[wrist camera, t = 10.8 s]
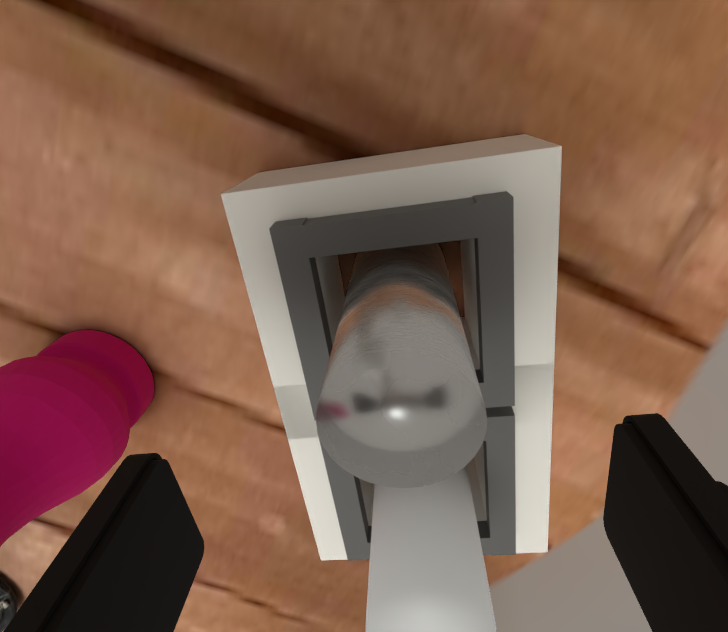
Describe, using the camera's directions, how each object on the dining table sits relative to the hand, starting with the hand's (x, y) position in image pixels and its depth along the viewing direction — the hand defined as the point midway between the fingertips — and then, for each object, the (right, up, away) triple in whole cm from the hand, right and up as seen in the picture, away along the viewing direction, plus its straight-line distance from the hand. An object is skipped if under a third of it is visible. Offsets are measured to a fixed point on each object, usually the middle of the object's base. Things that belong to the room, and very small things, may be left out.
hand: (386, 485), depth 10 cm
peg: (+1, +6, +13) cm, 15 cm away
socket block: (+2, +2, +15) cm, 15 cm away
